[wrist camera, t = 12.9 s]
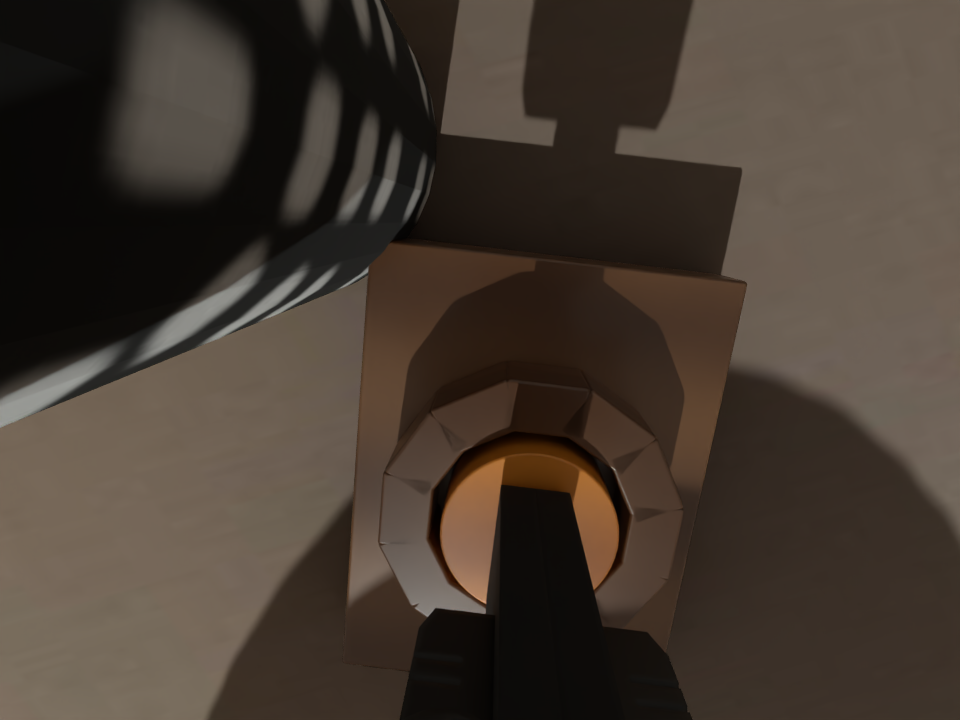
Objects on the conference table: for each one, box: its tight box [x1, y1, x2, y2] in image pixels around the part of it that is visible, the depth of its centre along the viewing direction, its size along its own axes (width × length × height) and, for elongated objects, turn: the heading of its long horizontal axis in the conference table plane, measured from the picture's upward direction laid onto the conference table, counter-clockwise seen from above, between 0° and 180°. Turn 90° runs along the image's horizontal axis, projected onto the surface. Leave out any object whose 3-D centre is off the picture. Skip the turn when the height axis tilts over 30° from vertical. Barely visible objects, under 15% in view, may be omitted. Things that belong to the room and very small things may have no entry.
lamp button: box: [440, 431, 619, 604], centre depth 14 cm, size 4×4×2 cm
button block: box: [343, 238, 747, 672], centre depth 15 cm, size 12×9×4 cm
